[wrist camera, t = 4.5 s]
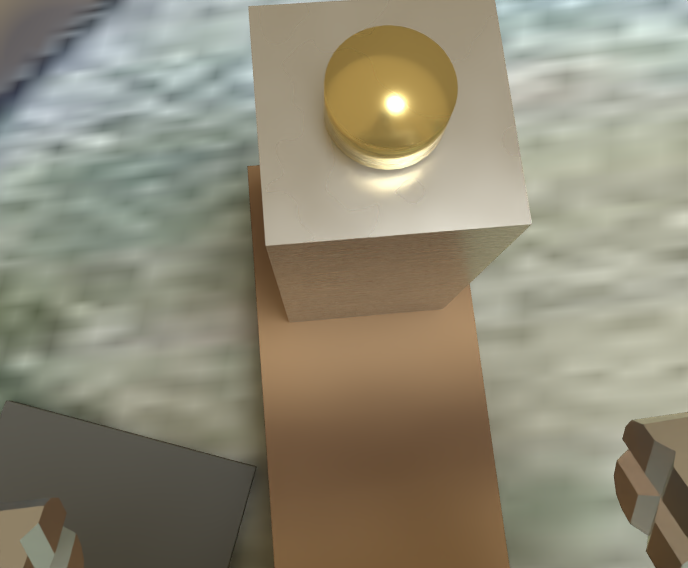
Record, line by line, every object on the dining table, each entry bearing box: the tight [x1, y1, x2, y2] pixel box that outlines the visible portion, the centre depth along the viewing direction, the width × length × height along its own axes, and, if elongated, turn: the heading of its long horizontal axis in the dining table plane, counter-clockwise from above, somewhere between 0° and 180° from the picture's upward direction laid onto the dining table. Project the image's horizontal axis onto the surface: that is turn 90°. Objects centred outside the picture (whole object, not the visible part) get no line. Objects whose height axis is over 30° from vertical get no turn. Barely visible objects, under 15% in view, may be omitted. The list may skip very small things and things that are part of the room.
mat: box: [0, 401, 256, 568], centre depth 21 cm, size 9×9×1 cm
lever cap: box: [248, 0, 532, 323], centre depth 16 cm, size 5×5×10 cm
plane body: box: [247, 165, 510, 568], centre depth 20 cm, size 20×7×6 cm, turn 5°
